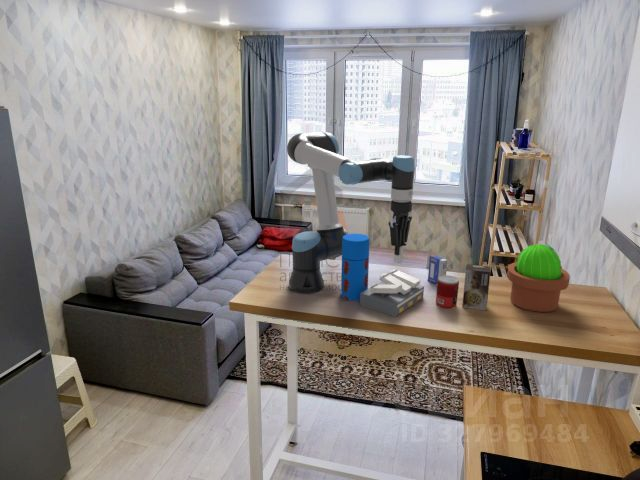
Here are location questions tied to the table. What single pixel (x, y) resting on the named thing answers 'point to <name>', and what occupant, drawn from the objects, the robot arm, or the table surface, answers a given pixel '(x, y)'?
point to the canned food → (447, 291)
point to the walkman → (436, 268)
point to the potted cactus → (537, 279)
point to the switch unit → (391, 300)
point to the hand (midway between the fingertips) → (398, 262)
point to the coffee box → (476, 287)
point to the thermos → (354, 265)
